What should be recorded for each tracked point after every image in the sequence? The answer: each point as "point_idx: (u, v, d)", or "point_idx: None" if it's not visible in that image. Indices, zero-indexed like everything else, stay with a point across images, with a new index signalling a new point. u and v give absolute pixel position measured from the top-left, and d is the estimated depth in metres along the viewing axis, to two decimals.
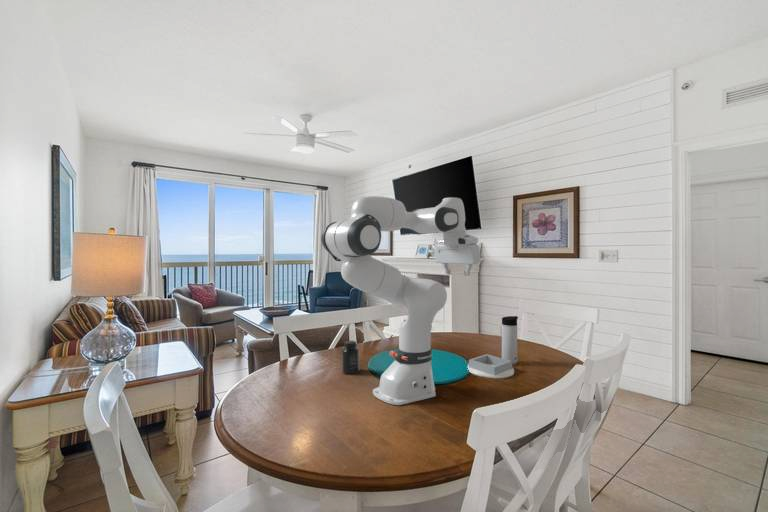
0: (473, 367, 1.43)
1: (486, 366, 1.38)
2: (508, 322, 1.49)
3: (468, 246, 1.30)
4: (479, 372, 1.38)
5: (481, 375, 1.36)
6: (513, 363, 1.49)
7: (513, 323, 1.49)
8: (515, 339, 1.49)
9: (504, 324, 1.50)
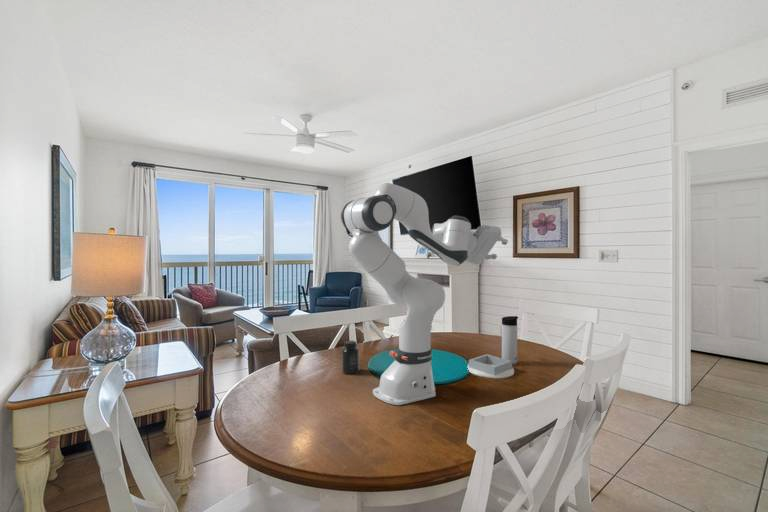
0: (473, 367, 1.43)
1: (486, 366, 1.38)
2: (508, 322, 1.49)
3: None
4: (479, 372, 1.38)
5: (481, 375, 1.36)
6: (513, 363, 1.49)
7: (513, 323, 1.49)
8: (515, 339, 1.49)
9: (504, 324, 1.50)
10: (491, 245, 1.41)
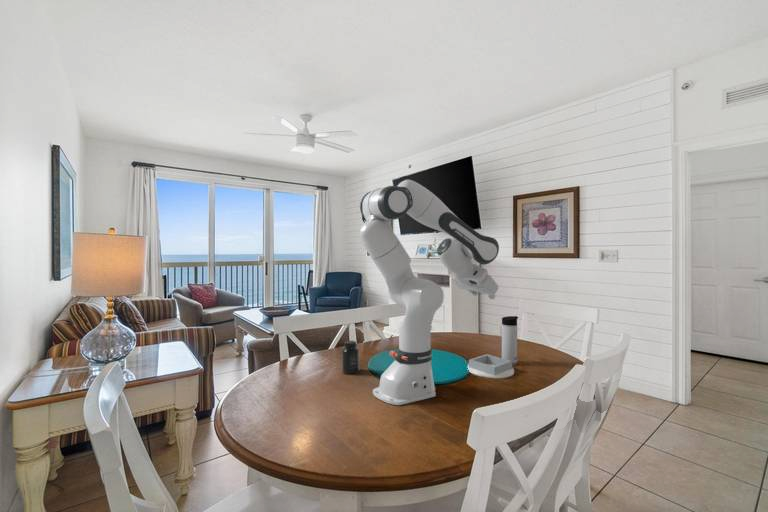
0: (473, 367, 1.43)
1: (486, 366, 1.38)
2: (508, 322, 1.49)
3: (481, 285, 1.31)
4: (479, 372, 1.38)
5: (481, 375, 1.36)
6: (513, 363, 1.49)
7: (513, 323, 1.49)
8: (515, 339, 1.49)
9: (504, 324, 1.50)
10: None
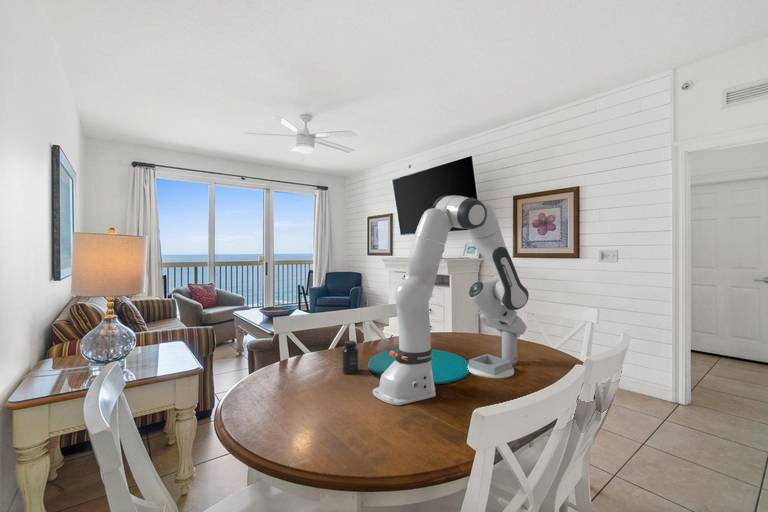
0: (473, 367, 1.43)
1: (486, 366, 1.38)
2: None
3: (511, 325, 1.40)
4: (479, 372, 1.38)
5: (481, 375, 1.36)
6: (513, 363, 1.49)
7: None
8: (515, 339, 1.49)
9: None
10: None
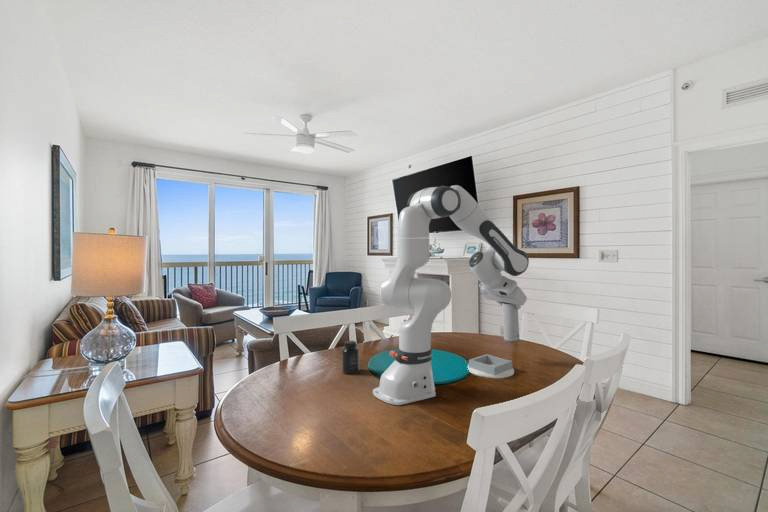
0: (473, 367, 1.43)
1: (486, 366, 1.38)
2: None
3: (511, 295, 1.39)
4: (479, 372, 1.38)
5: (481, 375, 1.36)
6: (515, 340, 1.49)
7: None
8: (516, 317, 1.49)
9: (504, 303, 1.49)
10: None
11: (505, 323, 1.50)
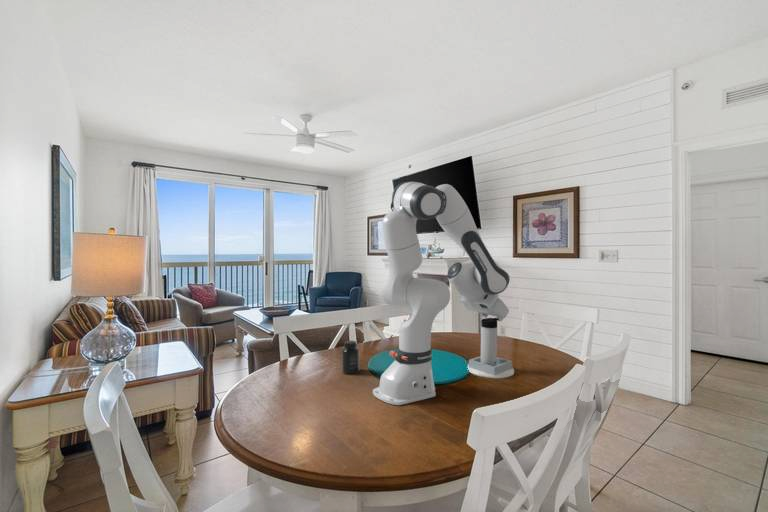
0: (473, 367, 1.43)
1: (486, 366, 1.38)
2: (488, 324, 1.40)
3: (492, 309, 1.31)
4: (479, 372, 1.38)
5: (481, 375, 1.36)
6: None
7: (493, 325, 1.40)
8: (495, 342, 1.41)
9: (484, 326, 1.41)
10: None
11: (483, 348, 1.42)
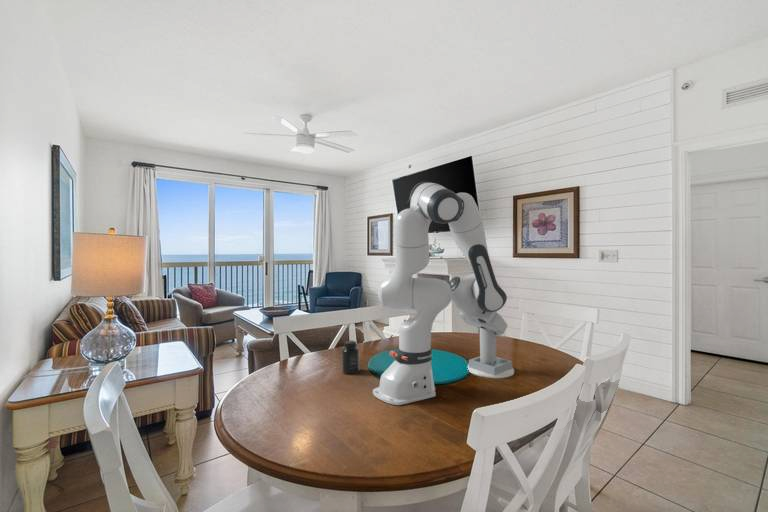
0: (473, 367, 1.43)
1: (486, 366, 1.38)
2: None
3: (490, 323, 1.31)
4: (479, 372, 1.38)
5: (481, 375, 1.36)
6: None
7: None
8: (494, 343, 1.40)
9: (482, 327, 1.40)
10: None
11: (482, 349, 1.41)
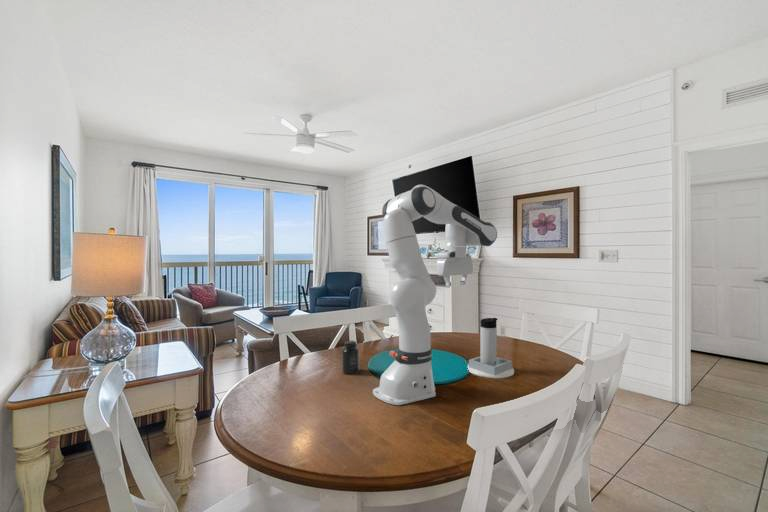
0: (473, 367, 1.43)
1: (486, 366, 1.38)
2: (487, 324, 1.40)
3: None
4: (479, 372, 1.38)
5: (481, 375, 1.36)
6: None
7: (492, 325, 1.40)
8: (494, 342, 1.41)
9: (483, 327, 1.41)
10: (463, 272, 1.54)
11: (482, 348, 1.42)
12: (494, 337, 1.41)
